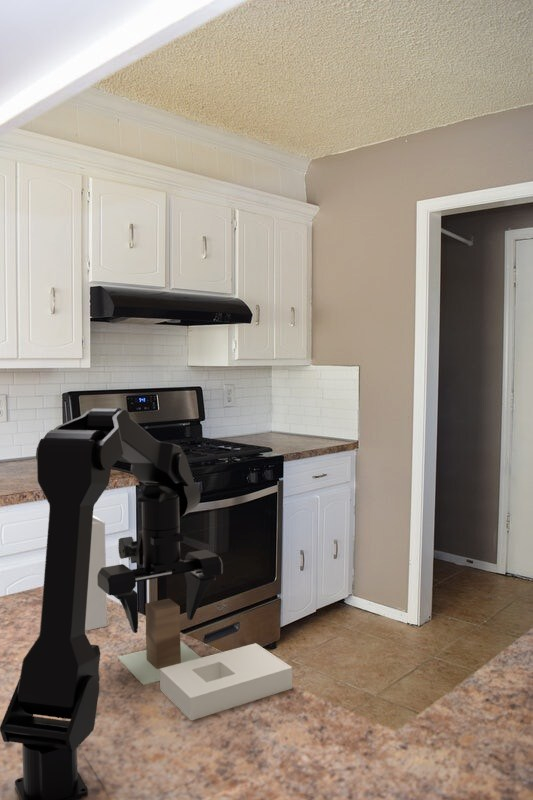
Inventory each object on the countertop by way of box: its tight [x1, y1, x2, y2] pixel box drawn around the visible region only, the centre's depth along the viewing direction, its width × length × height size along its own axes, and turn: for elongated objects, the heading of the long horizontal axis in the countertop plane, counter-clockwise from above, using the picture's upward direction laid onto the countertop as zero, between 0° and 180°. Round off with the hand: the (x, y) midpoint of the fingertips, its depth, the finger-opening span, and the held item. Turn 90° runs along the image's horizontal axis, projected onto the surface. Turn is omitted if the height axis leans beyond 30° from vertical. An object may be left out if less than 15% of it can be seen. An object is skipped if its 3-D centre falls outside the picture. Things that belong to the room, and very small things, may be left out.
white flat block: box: [159, 642, 293, 721], centre depth 97 cm, size 10×16×4 cm, turn 122°
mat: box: [117, 640, 202, 686], centre depth 106 cm, size 11×11×1 cm
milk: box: [85, 514, 108, 632], centre depth 122 cm, size 6×6×22 cm
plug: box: [144, 598, 181, 669], centre depth 106 cm, size 4×4×9 cm
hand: (162, 625), depth 105 cm, fingers open, 9 cm apart
